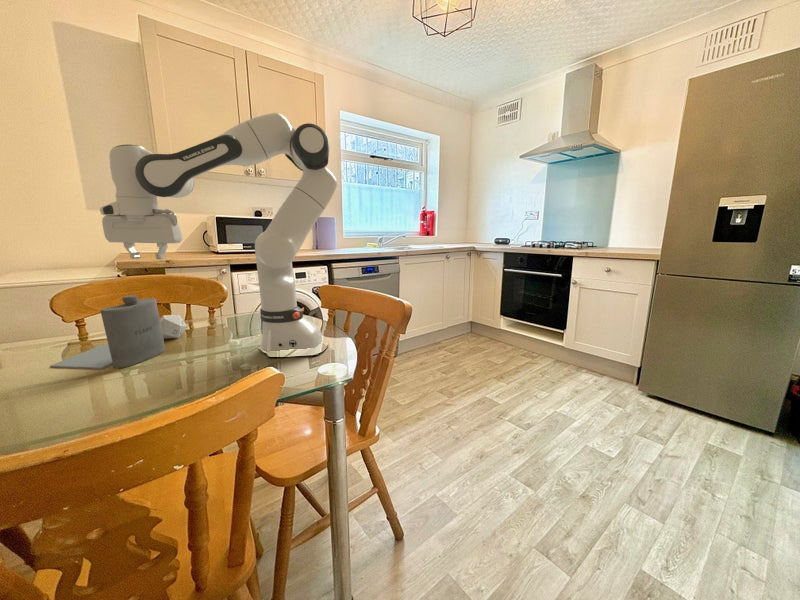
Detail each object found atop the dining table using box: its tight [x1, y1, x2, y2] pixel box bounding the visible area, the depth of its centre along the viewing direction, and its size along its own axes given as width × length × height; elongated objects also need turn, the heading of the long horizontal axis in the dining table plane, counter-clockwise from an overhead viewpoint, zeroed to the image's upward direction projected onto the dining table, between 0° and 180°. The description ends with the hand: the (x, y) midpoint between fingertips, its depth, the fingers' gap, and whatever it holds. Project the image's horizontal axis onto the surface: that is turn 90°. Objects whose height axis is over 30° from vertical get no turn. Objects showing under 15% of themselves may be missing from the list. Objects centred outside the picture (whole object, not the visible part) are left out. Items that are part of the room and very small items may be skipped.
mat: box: [49, 344, 113, 370], centre depth 101 cm, size 16×16×1 cm
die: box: [159, 314, 188, 340], centre depth 117 cm, size 8×9×10 cm
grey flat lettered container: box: [100, 294, 166, 369], centre depth 98 cm, size 15×6×20 cm, turn 167°
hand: (148, 258), depth 92 cm, fingers open, 6 cm apart
